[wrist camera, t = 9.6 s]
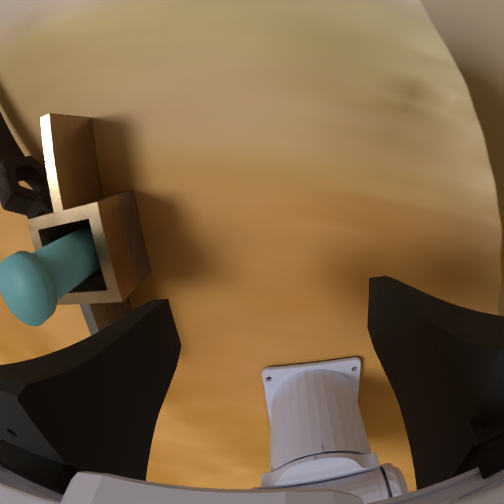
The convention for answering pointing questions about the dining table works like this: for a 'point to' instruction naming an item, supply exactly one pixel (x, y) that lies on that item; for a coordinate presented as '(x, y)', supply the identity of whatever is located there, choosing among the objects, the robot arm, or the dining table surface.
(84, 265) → the pin
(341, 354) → the dining table surface
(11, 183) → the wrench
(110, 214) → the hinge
